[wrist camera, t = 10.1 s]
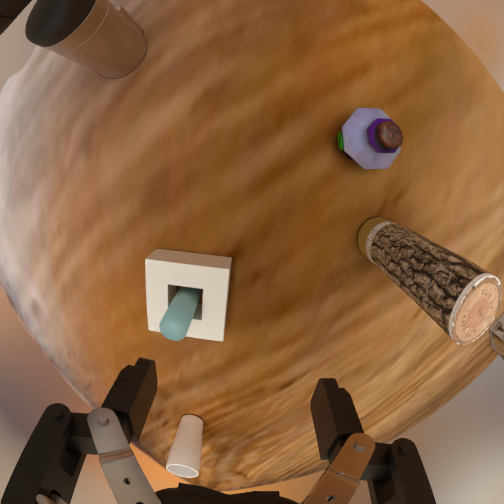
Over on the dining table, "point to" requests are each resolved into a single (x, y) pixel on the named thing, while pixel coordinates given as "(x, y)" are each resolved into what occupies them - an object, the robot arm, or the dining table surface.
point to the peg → (180, 313)
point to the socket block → (189, 275)
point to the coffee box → (498, 336)
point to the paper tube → (434, 278)
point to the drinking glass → (186, 448)
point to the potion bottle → (370, 138)
